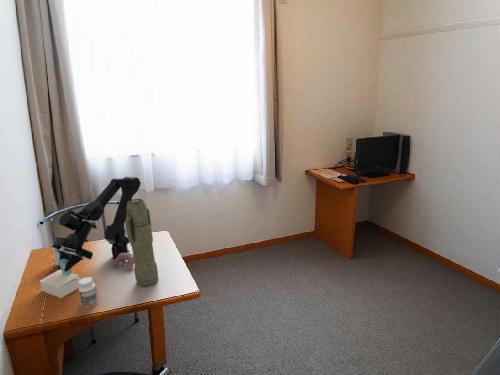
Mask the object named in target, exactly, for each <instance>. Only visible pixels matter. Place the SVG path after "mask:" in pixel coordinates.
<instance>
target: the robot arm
mask: <svg viewBox="0 0 500 375" xmlns="http://www.w3.org/2000/svg"><path fill="white" fill-rule="evenodd" d="M141 184H142V183H141V181H140V179H139V178H138V177H136V176H124V177H123V178H112V179H111V180H110V182H109V183H108V185H107V186H106V187H105V188H104V189H103V190H102V191H101V193H99V195H98V197H96V199H95V200H93V201H91V202H89V203H88V204H86V205H85V206H84V207H83V208H82V209H81V210H80V211H78V212H75V211H74V210H70V209H68V210H67V212H65V213H64V214H62V215H61V216H60V218H59V220H58V223H59V226H62V227H64V228H66V229H68V230H70V231H73V232H72V233H70V234H68V235H65V236H61V235H60V236H59V235H56V237H55V240H54V242H53V243H54V244H53V243H52V244H53V245H52V244H51V248H52V247H53V248H55V249H57V251H58V252H59V255H60V257H59V260H61V259H66V260H68V262H67V264H66V267H65V269H64V271H65V272H67V271H68V270H69V269H71V270H72V268H73V267H74V266H76V265H77V264H78V263H80V262H81V261H82V260H83V261H84V259H87V260H92V258H93V256H94V255H93V252H92V251H89V250H87V249H85V248H83V246H84V244H85V243H88V241H89V239H88V237H89V234H90V232H91V230H92V229H94V230H97V229H98V227H97V224H96V221H99V220H100V219H101V218H102V216H103V214H104V213H105V212H104V211H105V208H106V206H107V205H108V204H109V203H110V201H111V200H112V199H113V197H114V196H115V195H116V193H117V192H119V190H120V189H121V196H120V199H119V203H118V205H117V209H116V212H115V214H114V218H113V222H112V223H111V224H110V225H109V224H108V225H106V228H105V231H104V238H105V241H107V242H108V244H110V245H111V248H110V249H111V255H112V256H113V257H112V258H113V260H116V258H117V256H118V255H119V254H121V253H130V249H129V248H128V244H130V241H128V236H126V235H125V234H126V227H125V224H126V223H125V220H126V217H127V211H126V208H127V202H129V201H130V200H133V196H134V195H136V193H137V192H138V191H139V188H140V186H141ZM70 252H72V253H73V254H71V253H70ZM57 270H61V268H60V265H57Z"/></svg>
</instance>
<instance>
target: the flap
mask: <svg viewBox="0 0 500 375" xmlns="http://www.w3.org/2000/svg"><path fill="white" fill-rule="evenodd" d="M67 262H68V260H66V259H61V260H59V265H60V268H61V270H59V269H57V270H56V271H55V272H53V273H51V274H49V275H47V276H46V277H44V278H42V279H41V280H39V283H40V282H41V283H43V284H46V285H49V286H52V287H54V288H57V289H60V288H62V287H63V286H65V285H66V284H68V283H70V282H71V281H73V280H74V279H76V278H78V277H79V278H80V274H76V273H74V272H72V268H71V269H69V270H68V271H67V272H65V271H64V269H65V267H66V264H67Z"/></svg>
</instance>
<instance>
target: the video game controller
mask: <svg viewBox="0 0 500 375" xmlns="http://www.w3.org/2000/svg"><path fill="white" fill-rule="evenodd" d="M119 265H121V266H126V267H127V271H131V270H132V269H133V267H135V263H134V257H133V253H130V252H129V253H121V254H119V255H118V256H117V258H116V259H114V261H113V263H112V267H113V268H116V267H117V266H119Z"/></svg>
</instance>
